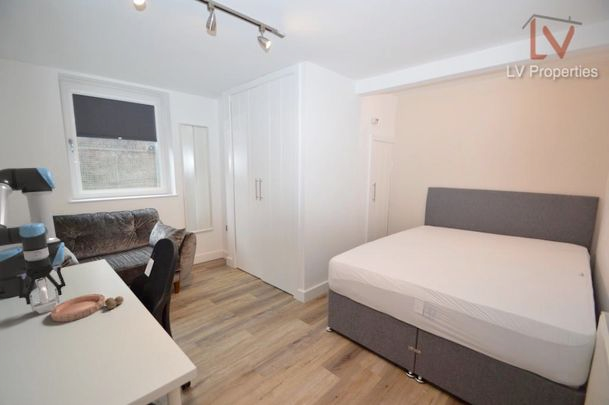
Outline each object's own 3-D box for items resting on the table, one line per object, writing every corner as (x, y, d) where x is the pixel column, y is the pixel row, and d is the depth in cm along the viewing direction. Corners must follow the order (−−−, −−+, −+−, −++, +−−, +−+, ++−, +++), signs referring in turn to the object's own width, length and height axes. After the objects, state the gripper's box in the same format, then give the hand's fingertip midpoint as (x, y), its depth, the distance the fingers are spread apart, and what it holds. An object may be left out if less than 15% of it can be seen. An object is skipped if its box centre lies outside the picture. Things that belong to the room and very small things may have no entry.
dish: (49, 311, 116) (48, 305, 115) (100, 295, 129) (100, 290, 129) (54, 328, 103) (52, 321, 103) (110, 308, 117) (109, 302, 117)
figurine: (35, 317, 111) (28, 285, 109) (35, 309, 118) (30, 278, 115) (58, 310, 116) (52, 279, 114) (57, 303, 123) (52, 273, 121)
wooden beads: (104, 305, 120) (103, 298, 119) (121, 299, 125) (120, 292, 124) (108, 311, 115) (107, 303, 114) (126, 304, 120) (125, 297, 119)
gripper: (1, 267, 103) (12, 319, 107) (69, 253, 118) (76, 299, 122) (2, 262, 108) (12, 312, 112) (67, 250, 123) (74, 294, 127)
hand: (46, 306), depth 117 cm, fingers closed on figurine, 7 cm apart
